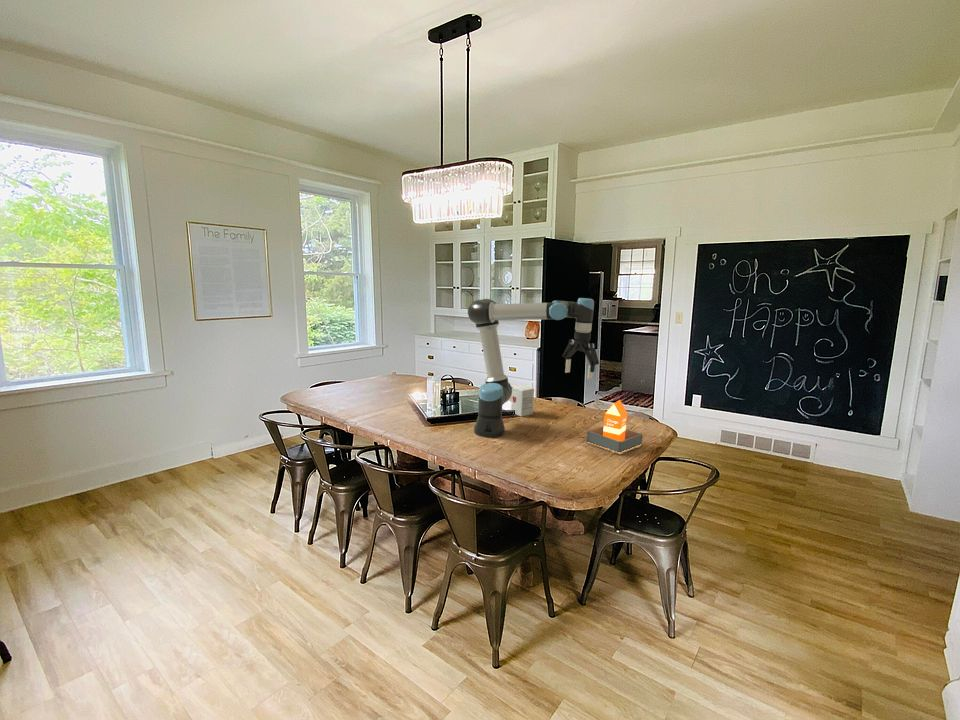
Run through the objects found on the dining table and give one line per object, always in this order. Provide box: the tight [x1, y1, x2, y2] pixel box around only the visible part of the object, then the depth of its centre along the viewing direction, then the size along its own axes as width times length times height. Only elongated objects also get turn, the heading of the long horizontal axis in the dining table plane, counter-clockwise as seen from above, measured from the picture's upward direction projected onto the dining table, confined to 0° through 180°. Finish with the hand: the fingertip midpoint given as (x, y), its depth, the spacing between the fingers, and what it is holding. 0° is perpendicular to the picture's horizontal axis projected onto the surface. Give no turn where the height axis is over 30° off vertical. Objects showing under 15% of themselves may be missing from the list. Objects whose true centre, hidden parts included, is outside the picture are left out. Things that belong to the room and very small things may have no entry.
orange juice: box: [603, 399, 628, 441], centre depth 209 cm, size 8×9×20 cm
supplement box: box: [510, 384, 535, 418], centre depth 253 cm, size 9×9×15 cm
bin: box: [586, 425, 644, 452], centre depth 210 cm, size 18×18×6 cm
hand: (578, 375), depth 217 cm, fingers open, 13 cm apart
